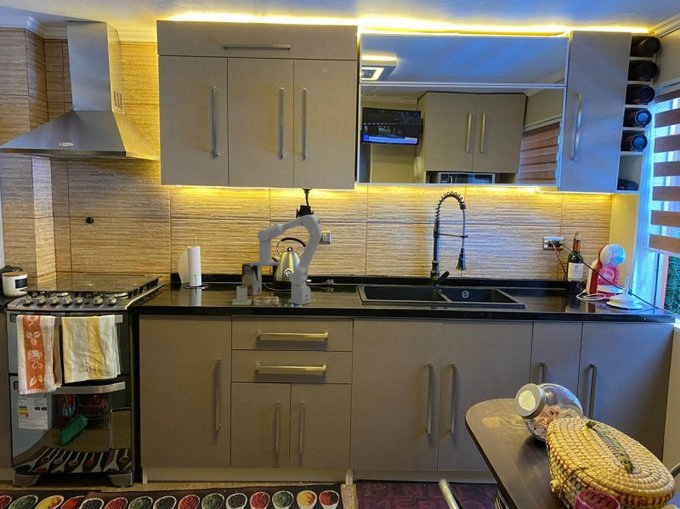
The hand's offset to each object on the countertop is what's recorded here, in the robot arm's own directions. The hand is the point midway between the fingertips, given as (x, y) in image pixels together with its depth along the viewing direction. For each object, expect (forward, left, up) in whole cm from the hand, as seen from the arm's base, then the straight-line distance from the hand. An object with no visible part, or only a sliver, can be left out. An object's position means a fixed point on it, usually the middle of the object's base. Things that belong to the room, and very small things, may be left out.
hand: (265, 280), depth 237 cm
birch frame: (-6, +4, -10) cm, 12 cm away
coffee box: (+17, -5, -10) cm, 20 cm away
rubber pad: (+2, +13, -10) cm, 16 cm away
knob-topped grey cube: (+2, +13, -9) cm, 16 cm away
